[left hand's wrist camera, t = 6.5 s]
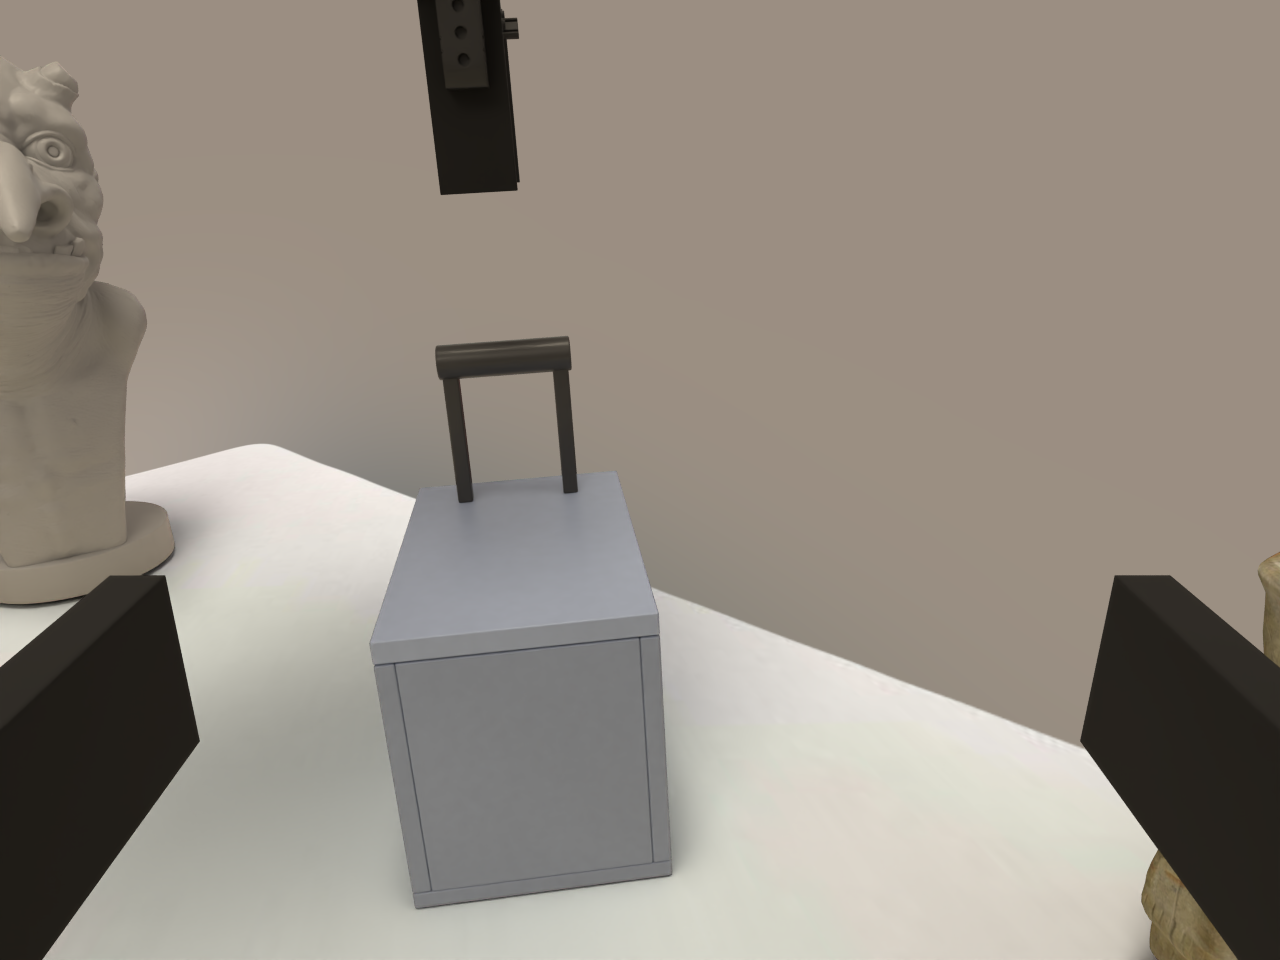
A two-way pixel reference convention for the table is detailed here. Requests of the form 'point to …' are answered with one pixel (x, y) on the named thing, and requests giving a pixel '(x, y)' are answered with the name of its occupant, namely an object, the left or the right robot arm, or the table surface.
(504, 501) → the lid
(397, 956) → the table surface
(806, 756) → the table surface
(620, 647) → the chest
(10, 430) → the bust sculpture
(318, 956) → the table surface
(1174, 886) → the sculpture
